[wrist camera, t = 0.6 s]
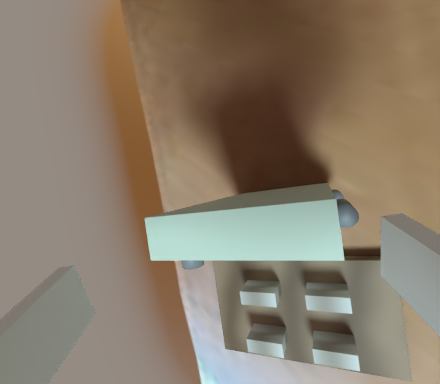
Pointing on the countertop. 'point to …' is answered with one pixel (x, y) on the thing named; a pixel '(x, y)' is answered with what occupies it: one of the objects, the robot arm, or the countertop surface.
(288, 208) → the door
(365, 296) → the hinge base
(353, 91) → the countertop surface
